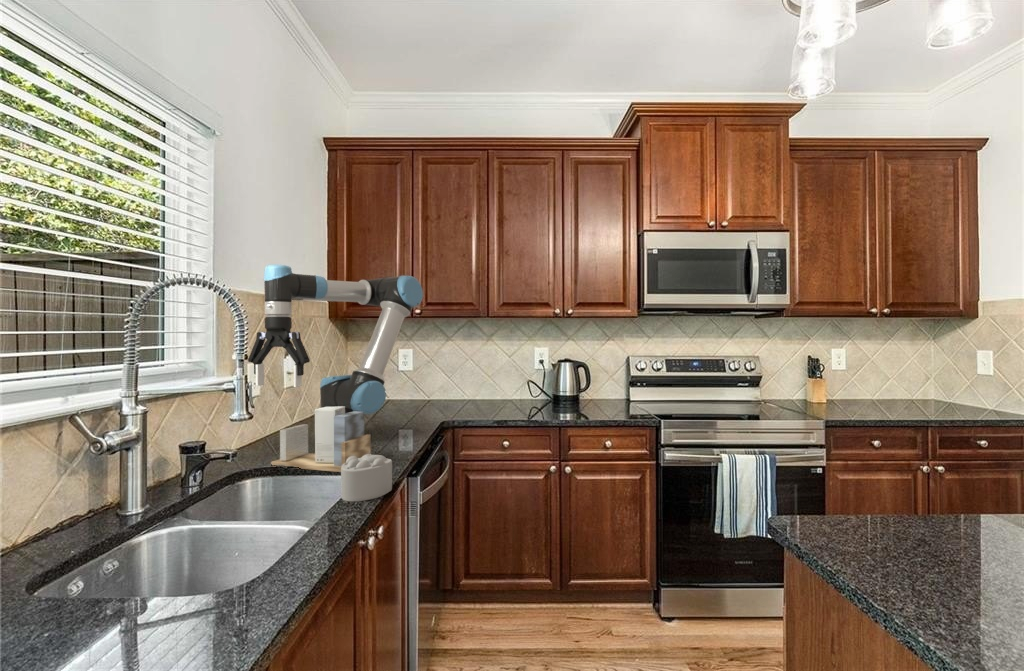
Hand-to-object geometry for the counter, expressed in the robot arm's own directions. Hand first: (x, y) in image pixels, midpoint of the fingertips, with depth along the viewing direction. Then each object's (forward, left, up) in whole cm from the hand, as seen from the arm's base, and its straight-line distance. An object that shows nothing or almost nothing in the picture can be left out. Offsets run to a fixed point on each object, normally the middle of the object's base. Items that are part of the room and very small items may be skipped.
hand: (278, 386), depth 161 cm
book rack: (0, +15, -23) cm, 27 cm away
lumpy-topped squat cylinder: (+21, +43, -23) cm, 53 cm away
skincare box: (0, +18, -22) cm, 28 cm away
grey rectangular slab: (0, +6, -21) cm, 22 cm away
